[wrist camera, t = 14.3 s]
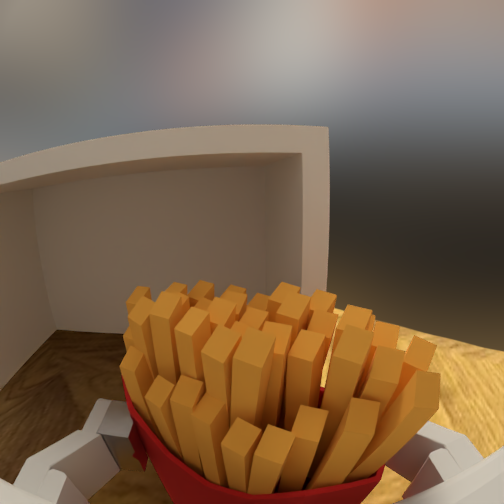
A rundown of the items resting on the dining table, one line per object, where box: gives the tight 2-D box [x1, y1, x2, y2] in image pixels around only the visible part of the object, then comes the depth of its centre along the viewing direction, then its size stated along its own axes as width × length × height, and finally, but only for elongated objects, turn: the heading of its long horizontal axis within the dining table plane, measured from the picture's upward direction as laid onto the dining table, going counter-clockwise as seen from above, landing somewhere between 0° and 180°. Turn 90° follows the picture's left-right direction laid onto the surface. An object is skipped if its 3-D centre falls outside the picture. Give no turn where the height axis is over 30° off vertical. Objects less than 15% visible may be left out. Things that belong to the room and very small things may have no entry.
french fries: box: [119, 280, 440, 504], centre depth 8 cm, size 8×4×12 cm, turn 60°
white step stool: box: [0, 125, 330, 391], centre depth 20 cm, size 26×15×17 cm, turn 94°
